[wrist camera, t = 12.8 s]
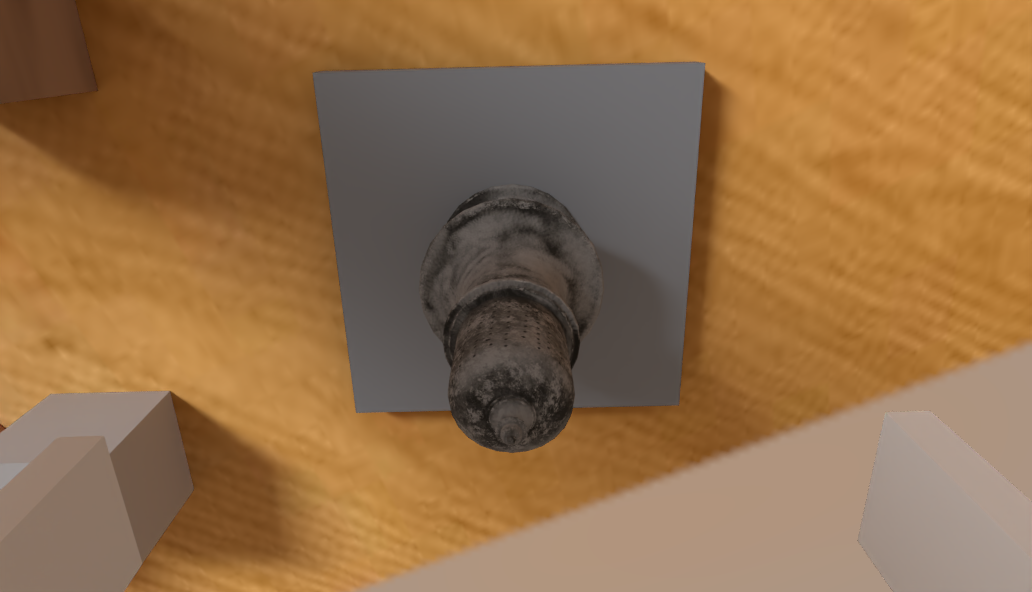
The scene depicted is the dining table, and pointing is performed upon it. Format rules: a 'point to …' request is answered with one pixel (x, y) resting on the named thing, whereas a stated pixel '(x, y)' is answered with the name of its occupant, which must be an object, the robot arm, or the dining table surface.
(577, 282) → the salt shaker
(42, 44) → the walnut block
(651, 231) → the slate board
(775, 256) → the dining table surface
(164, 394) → the grey block
